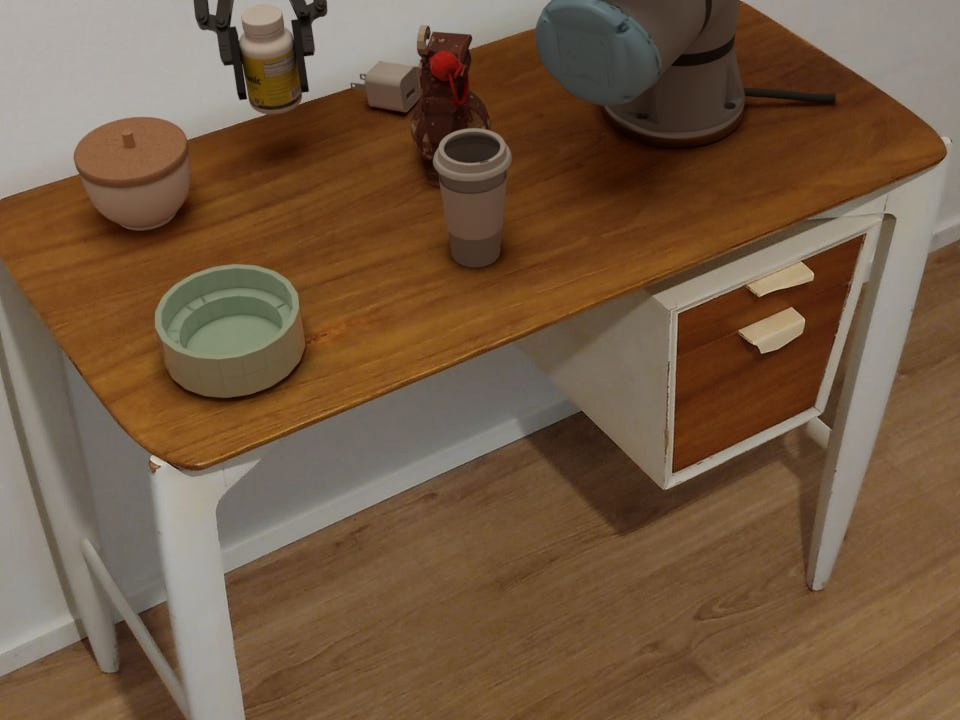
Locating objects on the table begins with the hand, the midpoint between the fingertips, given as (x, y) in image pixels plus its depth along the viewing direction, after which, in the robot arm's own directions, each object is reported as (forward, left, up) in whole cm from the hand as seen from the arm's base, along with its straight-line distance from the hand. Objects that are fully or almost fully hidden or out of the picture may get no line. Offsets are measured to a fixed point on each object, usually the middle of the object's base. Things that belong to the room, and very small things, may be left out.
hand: (273, 92), depth 127 cm
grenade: (-17, +2, -10) cm, 20 cm away
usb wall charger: (-11, -12, -5) cm, 17 cm away
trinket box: (+14, +4, -10) cm, 18 cm away
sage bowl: (+6, +26, -10) cm, 29 cm away
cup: (-17, +17, -10) cm, 26 cm away
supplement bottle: (0, -4, -4) cm, 5 cm away
